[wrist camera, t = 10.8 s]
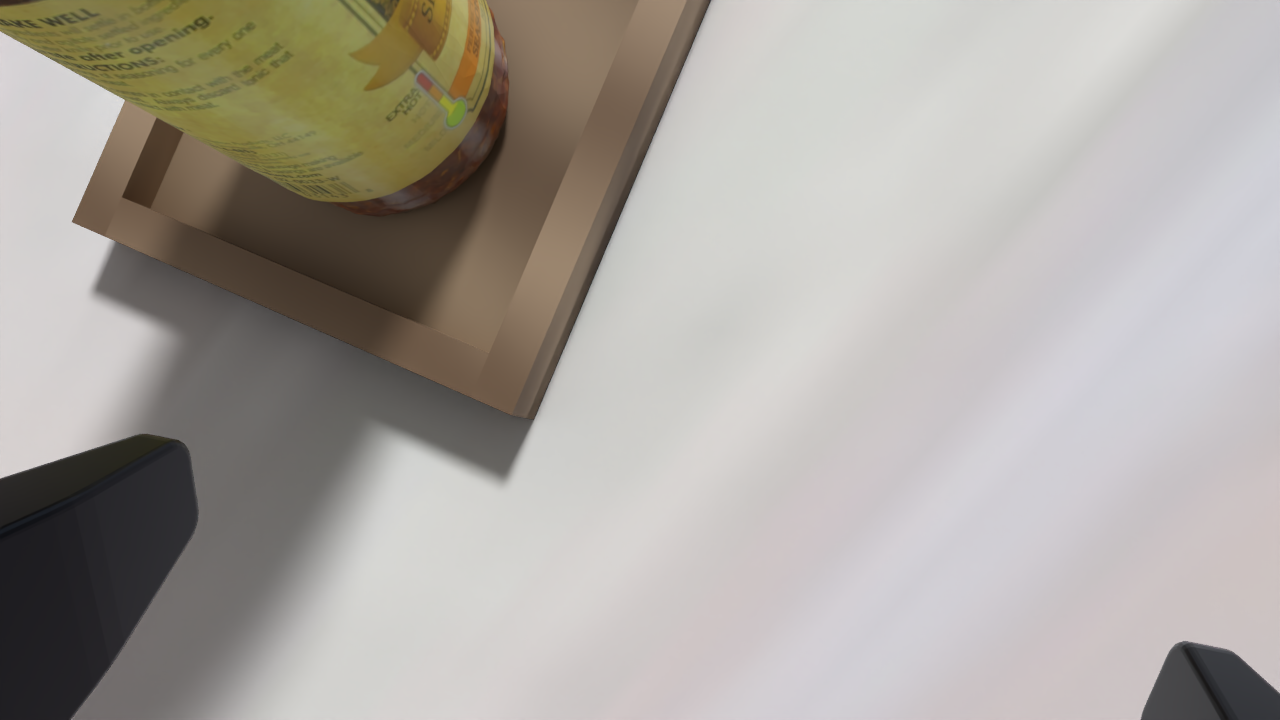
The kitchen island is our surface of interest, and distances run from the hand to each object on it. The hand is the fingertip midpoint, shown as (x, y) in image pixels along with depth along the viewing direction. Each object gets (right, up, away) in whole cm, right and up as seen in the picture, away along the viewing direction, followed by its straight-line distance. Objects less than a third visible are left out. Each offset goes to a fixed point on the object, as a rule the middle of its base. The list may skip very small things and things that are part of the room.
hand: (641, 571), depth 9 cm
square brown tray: (-6, +8, +15) cm, 18 cm away
